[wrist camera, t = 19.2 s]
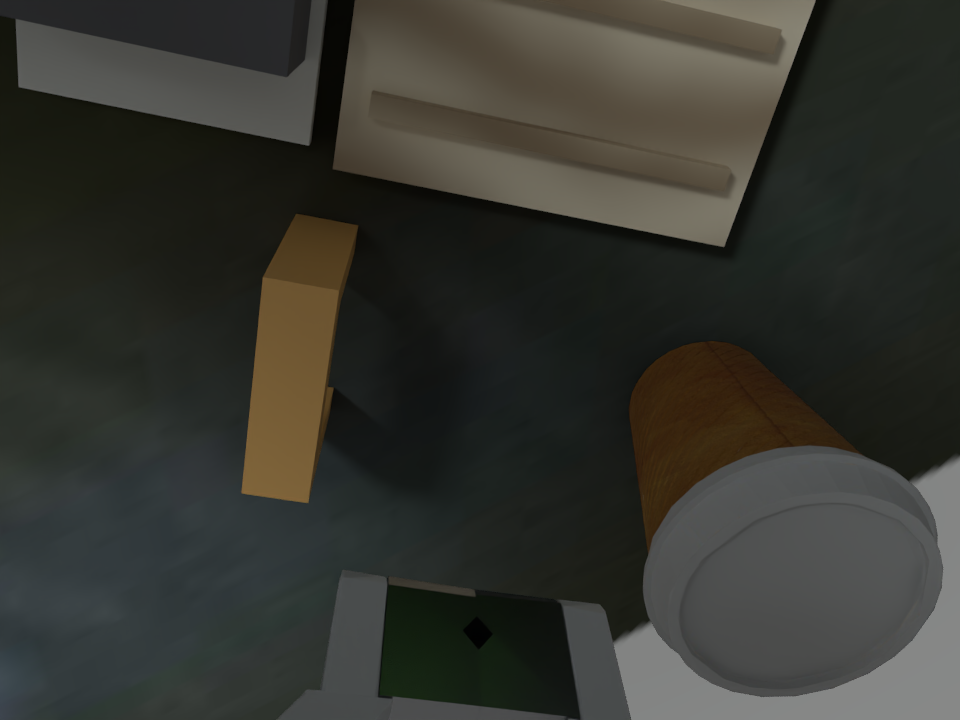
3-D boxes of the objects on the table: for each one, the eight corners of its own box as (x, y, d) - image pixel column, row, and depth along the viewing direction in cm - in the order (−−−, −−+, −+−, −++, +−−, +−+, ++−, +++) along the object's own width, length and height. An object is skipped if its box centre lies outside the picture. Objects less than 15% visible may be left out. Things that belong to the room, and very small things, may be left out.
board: (377, -148, 26) (373, -152, 24) (815, -38, 28) (836, -36, 26) (336, 160, 31) (330, 173, 29) (714, 236, 32) (728, 252, 31)
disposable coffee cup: (735, 514, 39) (842, 733, 29) (556, 453, 37) (599, 665, 27) (851, 350, 35) (1025, 535, 25) (657, 272, 33) (755, 436, 23)
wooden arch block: (296, 213, 31) (262, 276, 26) (358, 225, 32) (339, 290, 26) (274, 402, 35) (241, 493, 30) (330, 411, 36) (308, 503, 30)
